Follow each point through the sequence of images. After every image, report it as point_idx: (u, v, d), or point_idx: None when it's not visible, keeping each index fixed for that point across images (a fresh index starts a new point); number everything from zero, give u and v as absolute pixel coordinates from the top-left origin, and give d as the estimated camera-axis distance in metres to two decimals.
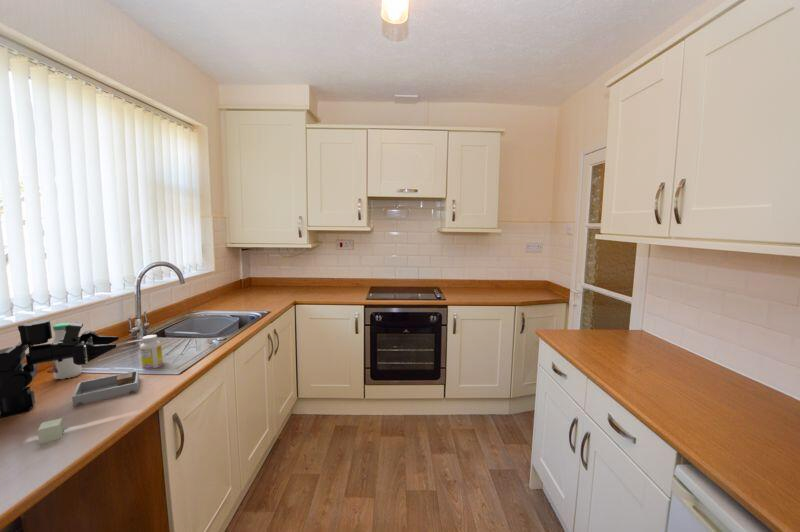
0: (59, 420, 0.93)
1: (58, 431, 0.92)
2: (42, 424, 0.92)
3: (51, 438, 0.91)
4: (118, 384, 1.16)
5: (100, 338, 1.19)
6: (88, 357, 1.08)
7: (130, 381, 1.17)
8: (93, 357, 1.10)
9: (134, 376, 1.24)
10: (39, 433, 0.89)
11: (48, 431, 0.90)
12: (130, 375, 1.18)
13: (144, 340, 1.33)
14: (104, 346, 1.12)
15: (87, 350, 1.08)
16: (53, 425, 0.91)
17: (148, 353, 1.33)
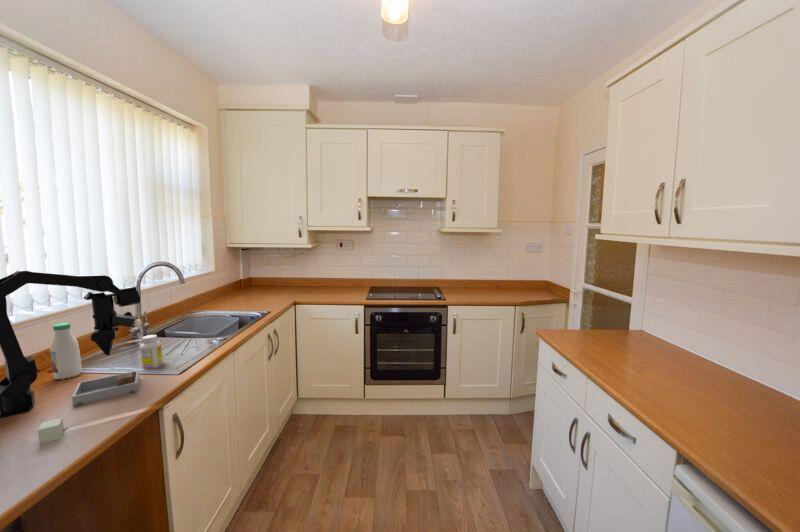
0: (59, 420, 0.93)
1: (58, 431, 0.92)
2: (42, 424, 0.92)
3: (51, 438, 0.91)
4: (118, 384, 1.16)
5: None
6: (99, 340, 1.16)
7: (130, 381, 1.17)
8: (97, 342, 1.17)
9: (134, 376, 1.24)
10: (39, 433, 0.89)
11: (48, 431, 0.90)
12: (130, 375, 1.18)
13: (144, 340, 1.33)
14: (109, 347, 1.20)
15: (108, 338, 1.18)
16: (53, 425, 0.91)
17: (148, 353, 1.33)
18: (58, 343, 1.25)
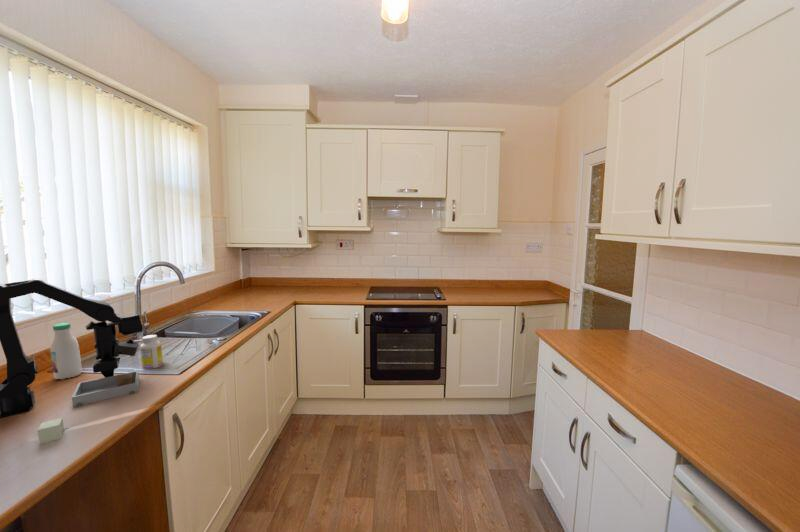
0: (59, 420, 0.93)
1: (58, 431, 0.91)
2: (42, 424, 0.92)
3: (51, 438, 0.91)
4: (118, 384, 1.15)
5: None
6: None
7: (130, 381, 1.17)
8: None
9: (134, 376, 1.24)
10: (39, 433, 0.89)
11: (48, 431, 0.90)
12: (130, 375, 1.18)
13: (144, 340, 1.33)
14: (111, 374, 1.21)
15: None
16: (53, 425, 0.91)
17: (148, 353, 1.33)
18: (58, 343, 1.25)
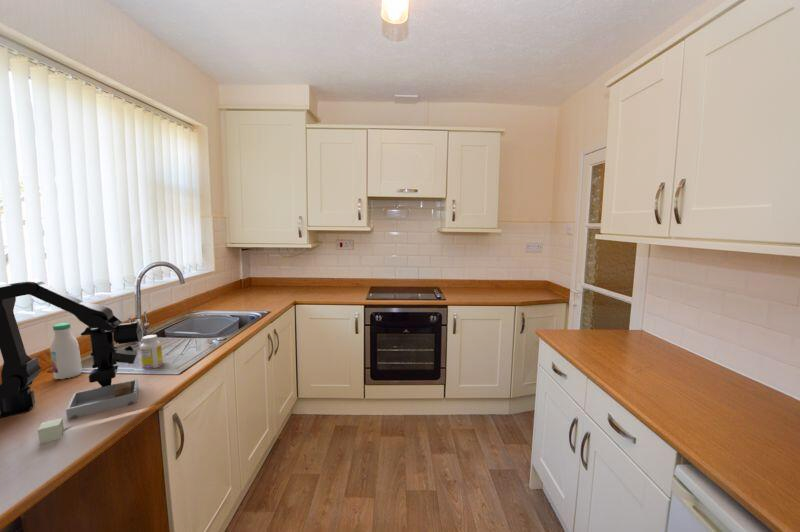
0: (59, 420, 0.93)
1: (58, 431, 0.91)
2: (42, 424, 0.92)
3: (51, 438, 0.91)
4: (116, 395, 1.08)
5: None
6: None
7: (128, 391, 1.10)
8: None
9: (133, 385, 1.17)
10: (39, 433, 0.89)
11: (48, 431, 0.90)
12: (129, 385, 1.11)
13: (144, 340, 1.33)
14: (109, 383, 1.14)
15: None
16: (53, 425, 0.91)
17: (148, 353, 1.33)
18: (58, 343, 1.25)
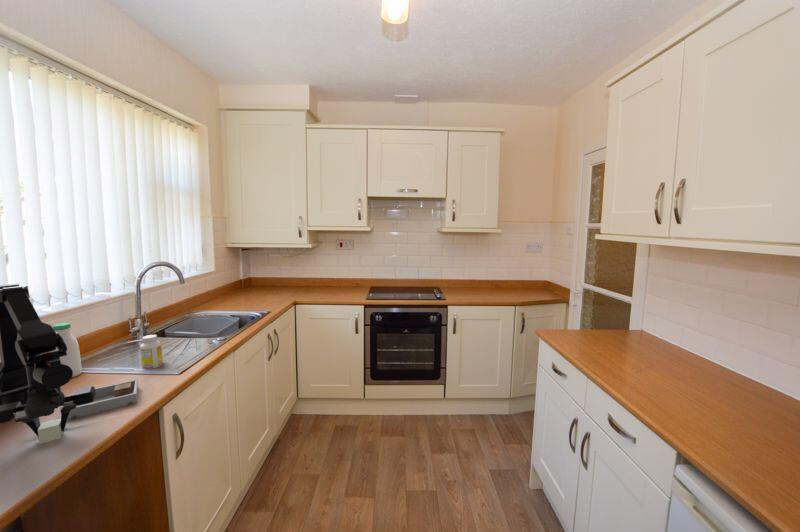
0: (59, 420, 0.93)
1: (58, 431, 0.91)
2: (42, 424, 0.92)
3: (51, 438, 0.91)
4: (116, 395, 1.08)
5: (62, 414, 0.92)
6: None
7: (128, 391, 1.10)
8: None
9: (133, 386, 1.17)
10: (39, 433, 0.89)
11: (48, 431, 0.90)
12: (128, 385, 1.11)
13: (144, 340, 1.33)
14: None
15: None
16: (53, 425, 0.91)
17: (148, 353, 1.33)
18: None
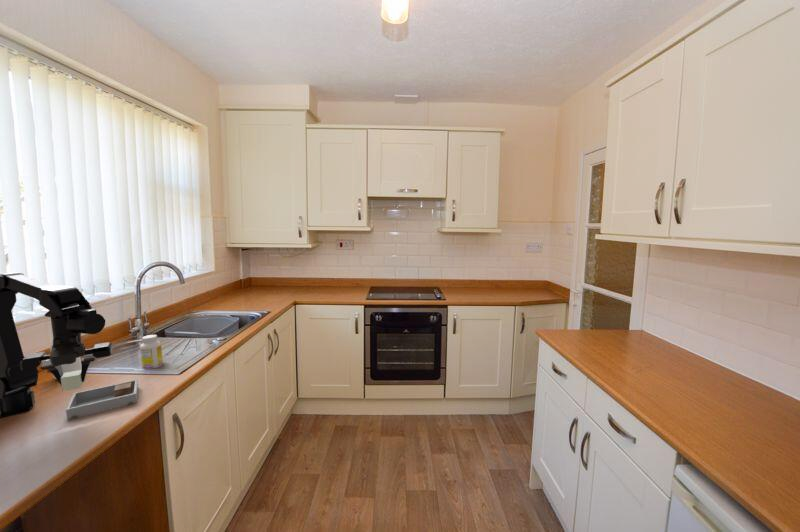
0: (80, 371, 1.01)
1: (78, 380, 0.99)
2: (64, 374, 1.00)
3: (72, 386, 0.99)
4: (116, 395, 1.08)
5: None
6: None
7: (128, 391, 1.10)
8: None
9: (133, 386, 1.17)
10: (62, 381, 0.97)
11: (70, 380, 0.98)
12: (128, 385, 1.11)
13: (144, 340, 1.33)
14: None
15: None
16: (75, 375, 0.99)
17: (148, 353, 1.33)
18: None
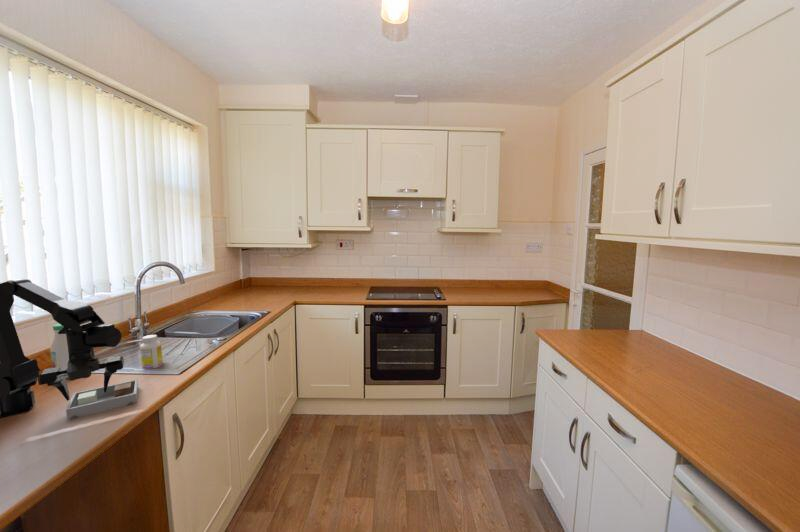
0: (94, 392, 1.07)
1: (94, 401, 1.05)
2: (80, 395, 1.05)
3: None
4: (116, 395, 1.08)
5: (104, 377, 1.07)
6: None
7: (128, 391, 1.10)
8: None
9: (133, 386, 1.17)
10: (78, 402, 1.03)
11: (86, 401, 1.04)
12: (128, 385, 1.11)
13: (144, 340, 1.33)
14: None
15: None
16: (90, 396, 1.04)
17: (148, 353, 1.33)
18: (58, 343, 1.25)
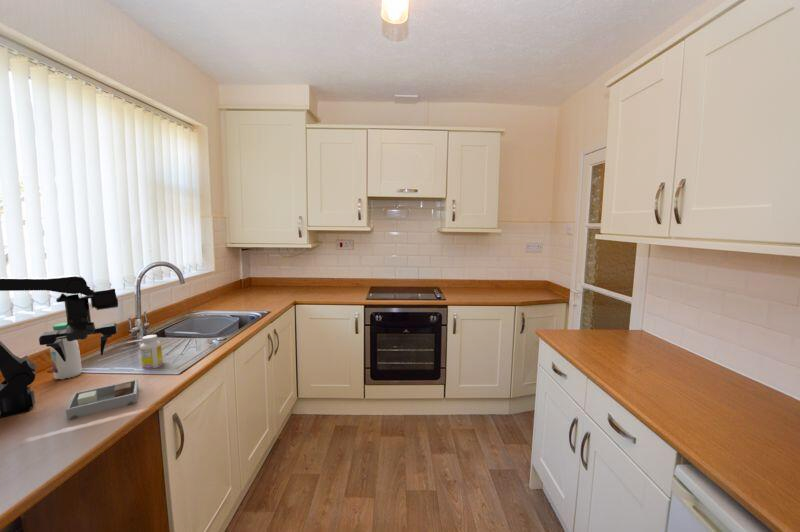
0: (94, 392, 1.07)
1: (94, 401, 1.05)
2: (80, 395, 1.05)
3: None
4: (116, 395, 1.08)
5: (101, 341, 1.17)
6: None
7: (128, 391, 1.10)
8: None
9: (133, 386, 1.17)
10: (78, 402, 1.03)
11: (86, 401, 1.04)
12: (128, 385, 1.11)
13: (144, 340, 1.33)
14: None
15: None
16: (90, 396, 1.04)
17: (148, 353, 1.33)
18: None
